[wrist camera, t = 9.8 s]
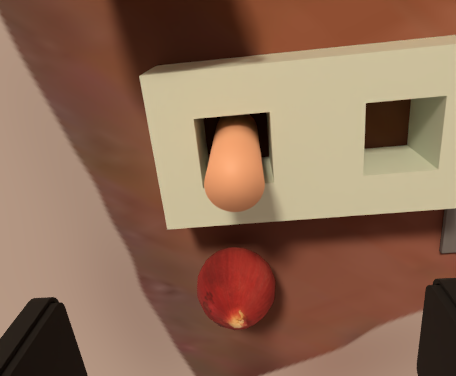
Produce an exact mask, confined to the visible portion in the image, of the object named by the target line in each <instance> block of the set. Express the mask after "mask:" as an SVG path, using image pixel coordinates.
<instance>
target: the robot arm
mask: <svg viewBox="0 0 456 376" xmlns="http://www.w3.org/2000/svg"><path fill="white" fill-rule="evenodd" d="M417 373H418V376H456V278H444V279H435V280H434V282H433V285H428V286H427V287H426V292H425V300H424V308H423V317H422V325H421V334H420V342H419V350H418V358H417ZM0 376H87V372H86V369H85V366H84V363H83V360H82V357H81V354H80V351H79V348H78V345H77V342H76V339H75V336H74V333H73V330H72V327H71V324H70V321H69V318H68V315H67V312H66V309H65V306H64V304H63V303H59V302H58V300H57V299H56V298H54V297H51V298H50V297H49V298H34V299H31V300H30V301H29V302H28V303H27V305H26V306H25V307H24V309H23V310H22V311H21V312H20V314H19V315H18V316H17V318H16V319H15V320H14V322H13V323H12V324H11V325H10V327H9V328H8V329H7V331H6V332H5V333H4V335H3V336H2V337H1V338H0Z"/></svg>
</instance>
